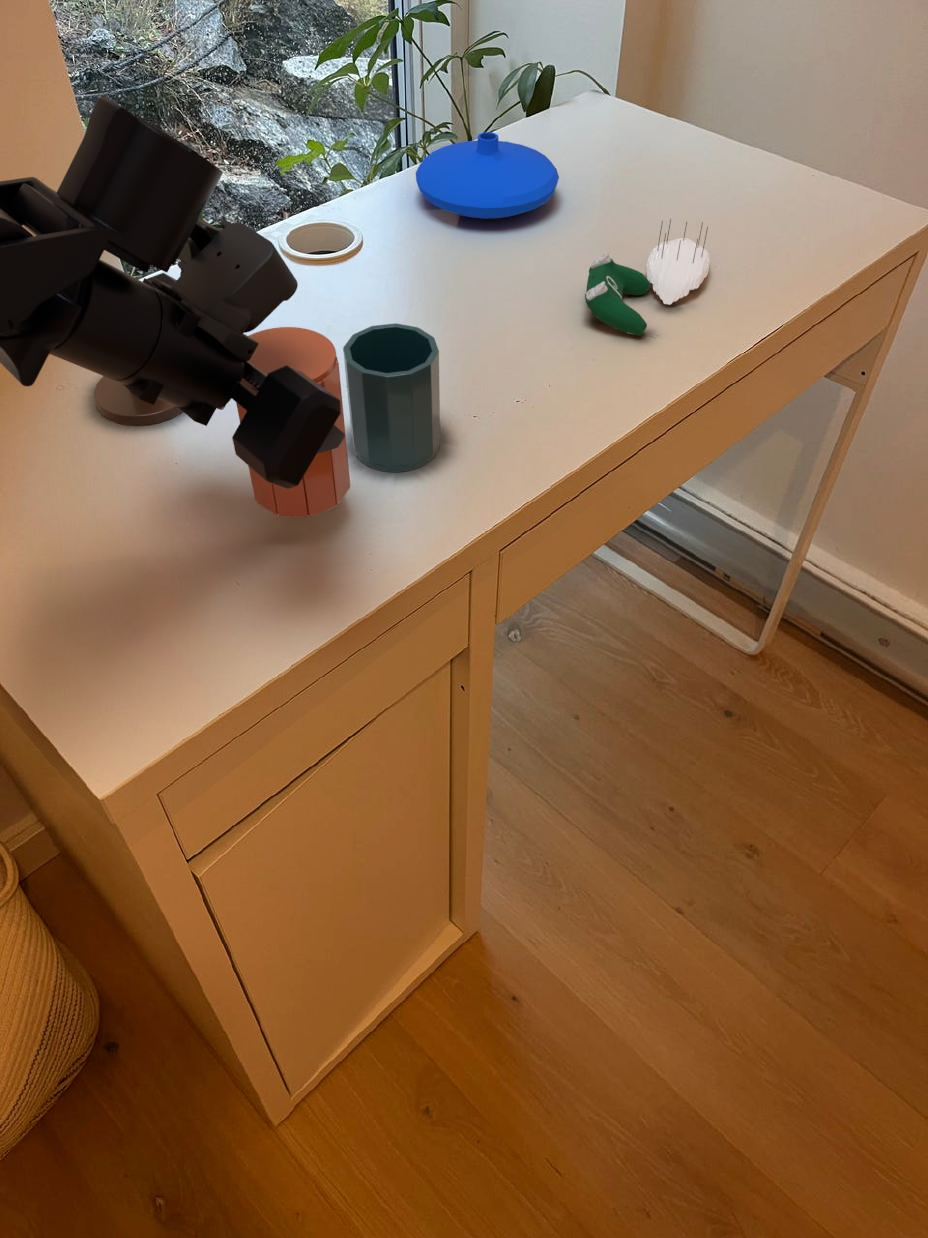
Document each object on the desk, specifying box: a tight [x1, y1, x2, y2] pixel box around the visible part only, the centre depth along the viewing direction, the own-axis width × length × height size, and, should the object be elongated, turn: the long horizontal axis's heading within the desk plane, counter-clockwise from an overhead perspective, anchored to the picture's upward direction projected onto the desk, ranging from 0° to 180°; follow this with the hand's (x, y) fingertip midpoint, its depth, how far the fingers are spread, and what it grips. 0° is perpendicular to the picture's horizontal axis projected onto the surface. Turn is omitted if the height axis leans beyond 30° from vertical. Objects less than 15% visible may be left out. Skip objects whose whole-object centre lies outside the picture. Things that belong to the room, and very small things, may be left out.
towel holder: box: [93, 376, 184, 426], centre depth 82 cm, size 8×8×6 cm
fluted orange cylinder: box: [235, 326, 351, 518], centre depth 68 cm, size 7×7×11 cm
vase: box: [415, 131, 560, 220], centre depth 106 cm, size 16×16×7 cm
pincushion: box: [645, 218, 711, 306], centre depth 96 cm, size 12×6×6 cm, turn 163°
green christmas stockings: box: [584, 252, 651, 337], centre depth 92 cm, size 9×4×6 cm
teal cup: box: [342, 322, 441, 473], centre depth 76 cm, size 7×7×9 cm
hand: (308, 415), depth 68 cm, fingers closed on fluted orange cylinder, 7 cm apart
